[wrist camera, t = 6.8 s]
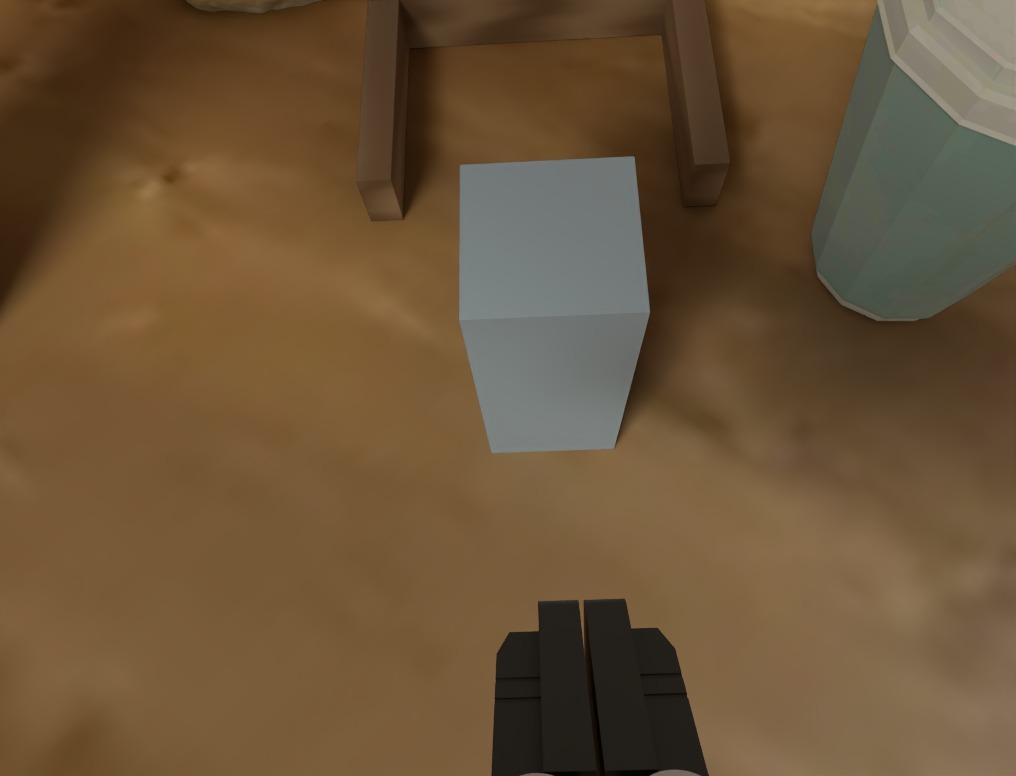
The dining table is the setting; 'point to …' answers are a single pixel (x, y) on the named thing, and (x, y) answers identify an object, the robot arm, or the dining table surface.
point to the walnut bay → (526, 18)
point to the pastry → (247, 5)
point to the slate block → (552, 298)
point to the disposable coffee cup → (923, 162)
